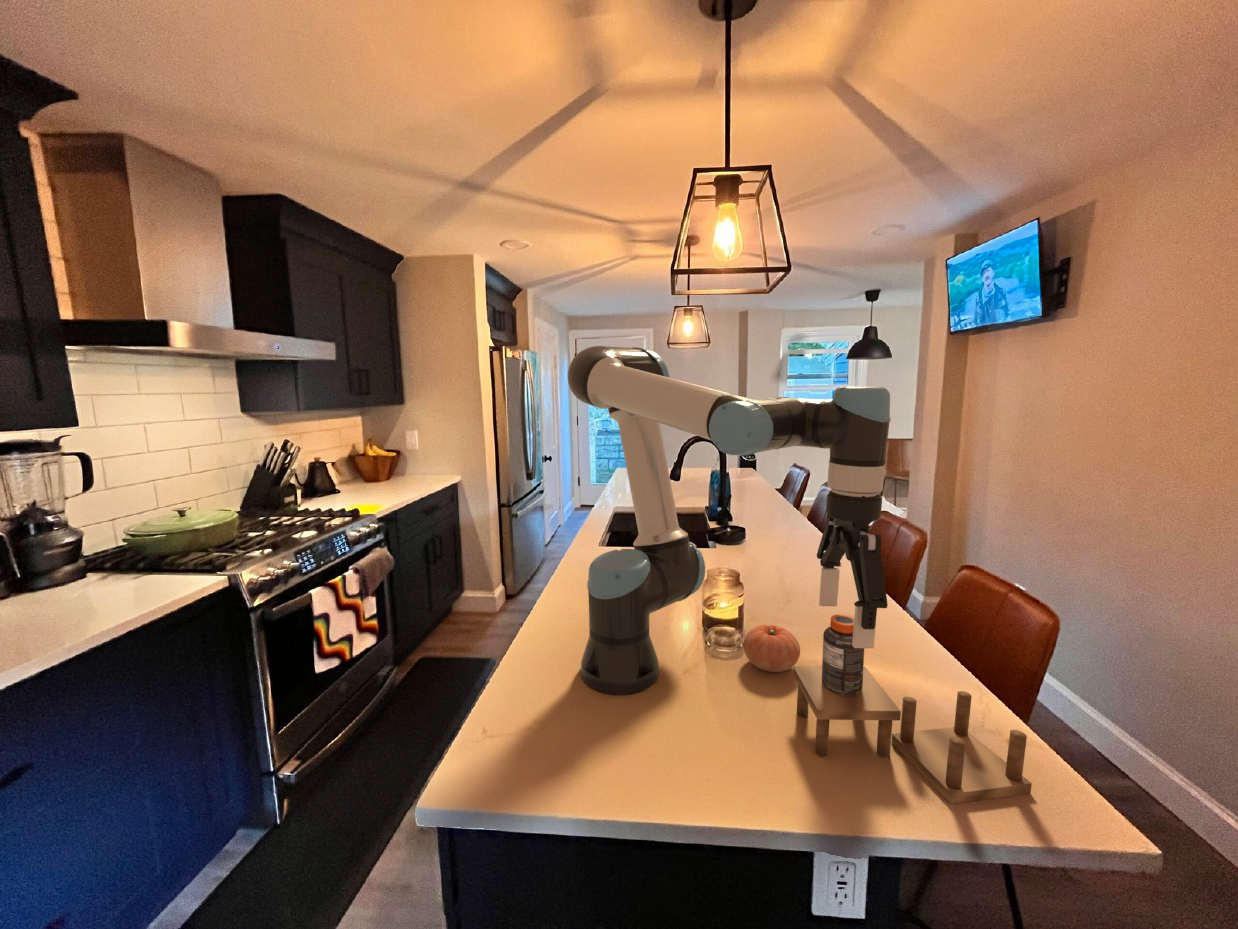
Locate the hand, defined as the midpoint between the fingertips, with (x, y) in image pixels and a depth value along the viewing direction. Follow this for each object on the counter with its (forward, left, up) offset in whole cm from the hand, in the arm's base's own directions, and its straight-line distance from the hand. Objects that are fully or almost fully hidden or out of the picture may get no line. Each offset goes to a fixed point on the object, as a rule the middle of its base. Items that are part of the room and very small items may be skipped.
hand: (843, 624), depth 80 cm
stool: (0, 0, -18) cm, 18 cm away
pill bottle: (0, 0, -11) cm, 11 cm away
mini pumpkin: (-6, +20, -19) cm, 28 cm away
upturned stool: (+14, -7, -18) cm, 24 cm away
